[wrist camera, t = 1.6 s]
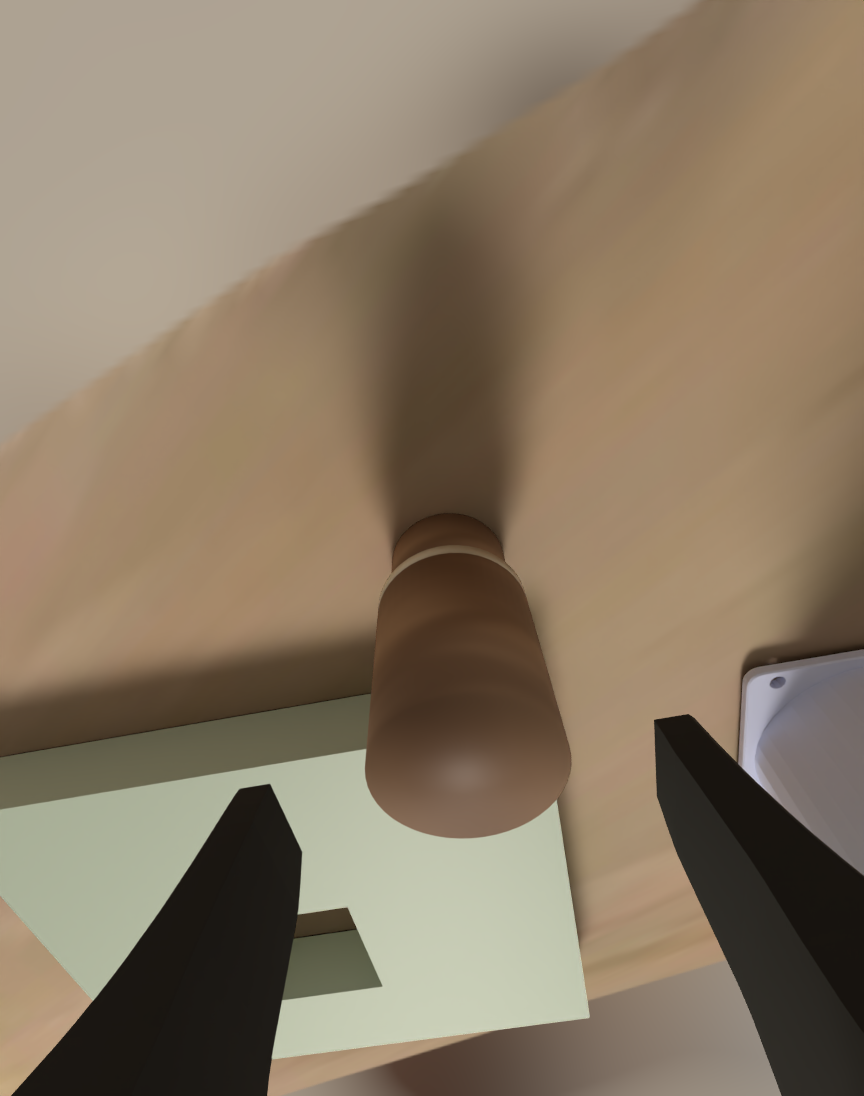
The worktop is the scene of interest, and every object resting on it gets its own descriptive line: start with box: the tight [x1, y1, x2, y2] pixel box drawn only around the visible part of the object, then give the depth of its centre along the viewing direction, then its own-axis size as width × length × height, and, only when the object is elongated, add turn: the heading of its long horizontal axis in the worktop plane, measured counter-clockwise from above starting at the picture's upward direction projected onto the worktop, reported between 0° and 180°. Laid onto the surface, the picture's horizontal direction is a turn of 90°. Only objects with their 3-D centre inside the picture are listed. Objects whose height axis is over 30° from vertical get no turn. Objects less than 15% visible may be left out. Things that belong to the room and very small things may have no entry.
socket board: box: [0, 694, 590, 1059], centre depth 25 cm, size 20×18×2 cm
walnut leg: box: [365, 514, 571, 839], centre depth 16 cm, size 4×4×8 cm
